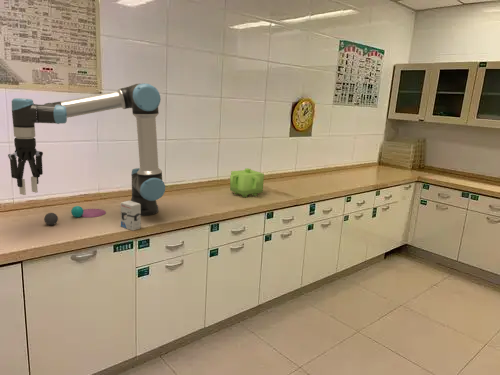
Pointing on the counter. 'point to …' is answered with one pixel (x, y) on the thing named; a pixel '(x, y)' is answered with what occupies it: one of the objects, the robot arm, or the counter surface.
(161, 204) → the counter surface
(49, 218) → the black ball
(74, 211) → the teal ball
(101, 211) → the plum mark
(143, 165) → the robot arm
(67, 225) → the counter surface
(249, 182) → the green ribbed block
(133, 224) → the ink box
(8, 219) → the counter surface
